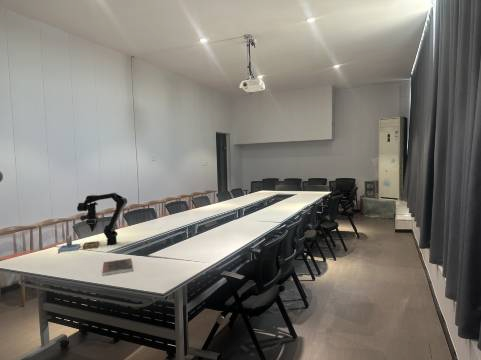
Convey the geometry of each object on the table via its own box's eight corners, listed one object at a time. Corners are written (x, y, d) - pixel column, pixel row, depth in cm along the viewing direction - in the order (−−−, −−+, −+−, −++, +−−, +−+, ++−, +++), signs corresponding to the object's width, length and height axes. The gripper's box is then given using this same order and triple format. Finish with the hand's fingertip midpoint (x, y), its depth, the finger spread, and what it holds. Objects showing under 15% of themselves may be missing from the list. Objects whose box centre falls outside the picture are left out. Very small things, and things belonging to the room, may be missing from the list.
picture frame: (132, 272, 185) (131, 261, 205) (132, 267, 184) (131, 257, 205) (102, 276, 179) (103, 265, 199) (102, 272, 178) (103, 261, 199)
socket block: (99, 245, 249) (98, 241, 249) (97, 248, 240) (97, 244, 239) (85, 247, 246) (85, 242, 246) (82, 250, 237) (82, 245, 237)
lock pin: (72, 248, 241) (71, 235, 240) (71, 249, 238) (70, 236, 237) (67, 249, 240) (66, 236, 239) (66, 250, 237) (65, 237, 236)
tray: (80, 247, 246) (80, 243, 246) (77, 251, 235) (77, 247, 235) (62, 249, 242) (61, 245, 242) (58, 253, 232) (57, 249, 231)
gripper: (82, 210, 256) (84, 229, 257) (78, 213, 238) (79, 233, 239) (97, 209, 259) (99, 227, 260) (94, 212, 241) (95, 232, 242)
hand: (93, 230), depth 250 cm, fingers open, 9 cm apart
